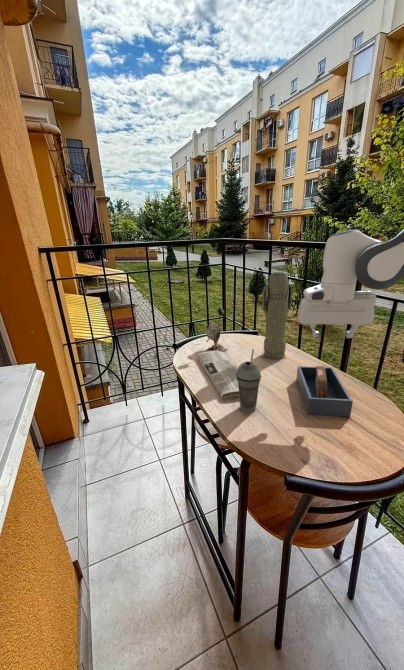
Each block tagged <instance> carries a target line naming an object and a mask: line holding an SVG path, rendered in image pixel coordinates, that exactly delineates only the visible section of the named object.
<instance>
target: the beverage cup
mask: <svg viewBox="0 0 404 670" xmlns="http://www.w3.org/2000/svg"><path fill="white" fill-rule="evenodd" d="M254 353H255V349H254V348H252V349H251V355H250V361H244V362H242V363H241V364H240V365H239V366H237V368H238V369H237V373H236V377H237V382H238V388H239V396H238V398H239V407H240V408H239V409H240V411H241V412H242V413H244V414H253V413H254V412H255V411H256V407H257V402H258V394H259V388H260V382H261V379H262V372H261V370H260V367H259V365H257V364H256V363H255V362H253V358H254Z"/></svg>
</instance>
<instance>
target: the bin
mask: <svg viewBox="0 0 404 670" xmlns="http://www.w3.org/2000/svg"><path fill="white" fill-rule="evenodd" d="M325 372H326V379H327V398H316V384H315V379H316V366H308V365H307V366H306V365H305V366H304V365H298V366H297V371H296V382H297V386H298V389H299V392H300V396H301V399H302V401H303V405H304V408H305V411H306V414H307V416H319V417H321V416H322V417H339V418H351V414H352V408H353V403H354V401H353V399H352V397H351V396H350V393H349V392H348V391H347V388H346V387H345V386H344V383H343V382H342V381H341V379H340V377H339V375H338V374H337V372H336V371H335V369H334V368H333V366H325Z"/></svg>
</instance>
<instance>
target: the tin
mask: <svg viewBox="0 0 404 670" xmlns="http://www.w3.org/2000/svg"><path fill="white" fill-rule="evenodd" d="M315 367H316V379H315V384H316V398H327V379H326V372H325V367H326V366H325V365H316V366H315Z"/></svg>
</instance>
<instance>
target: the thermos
mask: <svg viewBox="0 0 404 670" xmlns="http://www.w3.org/2000/svg"><path fill="white" fill-rule="evenodd" d="M293 290H294V289H293V286H292V284H290V283H289V279H288V274H287V273H285V272H281V271H278V272H276V271H275V272H272V273H270V275H269V278H268V280H267V285H265V286H264V287H263V288H262V301H261V310H262V311H263V312H264V313H265V315H264V316H265V338H264V340H263V356H264V357H265V358H266V359H268V360H275V361H276V360H282V359H284V358H285V355H286V354H285V353H286V347H287V340H286V338H285V337H286V327H287V326H286V325H287V318H288V315H289V311H290V310H291V309H292V302H293Z"/></svg>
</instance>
